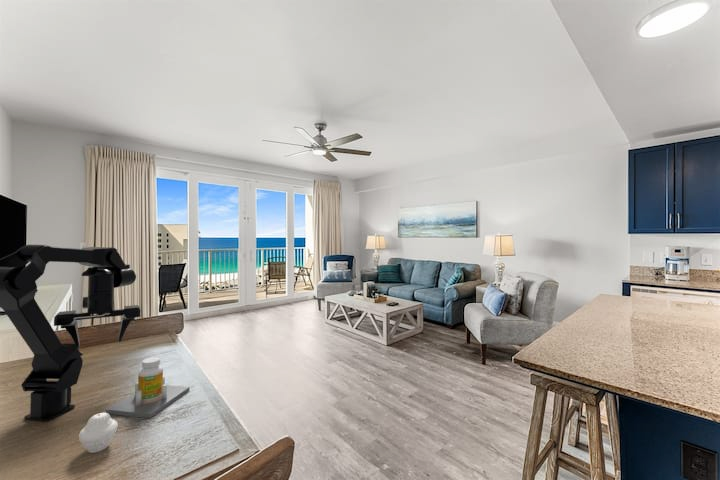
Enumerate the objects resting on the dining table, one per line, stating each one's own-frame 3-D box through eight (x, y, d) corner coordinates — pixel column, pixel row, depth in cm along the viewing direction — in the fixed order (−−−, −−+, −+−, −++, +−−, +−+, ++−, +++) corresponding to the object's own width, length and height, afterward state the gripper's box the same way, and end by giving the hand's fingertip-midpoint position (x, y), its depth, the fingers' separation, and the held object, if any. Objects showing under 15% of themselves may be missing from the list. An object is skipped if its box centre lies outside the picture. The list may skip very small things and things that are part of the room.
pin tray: (150, 418, 74) (150, 399, 74) (105, 413, 76) (106, 395, 76) (189, 390, 88) (189, 374, 88) (151, 387, 90) (151, 371, 90)
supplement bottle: (142, 404, 78) (143, 365, 78) (134, 397, 82) (135, 360, 82) (165, 396, 83) (166, 359, 83) (157, 389, 86) (158, 354, 86)
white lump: (85, 462, 59) (86, 425, 59) (73, 450, 63) (73, 415, 63) (122, 444, 65) (123, 411, 65) (110, 434, 68) (110, 402, 68)
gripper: (139, 284, 102) (137, 332, 102) (60, 289, 90) (59, 342, 90) (141, 289, 93) (139, 341, 93) (54, 294, 82) (52, 354, 82)
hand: (99, 344), depth 90 cm, fingers open, 9 cm apart
